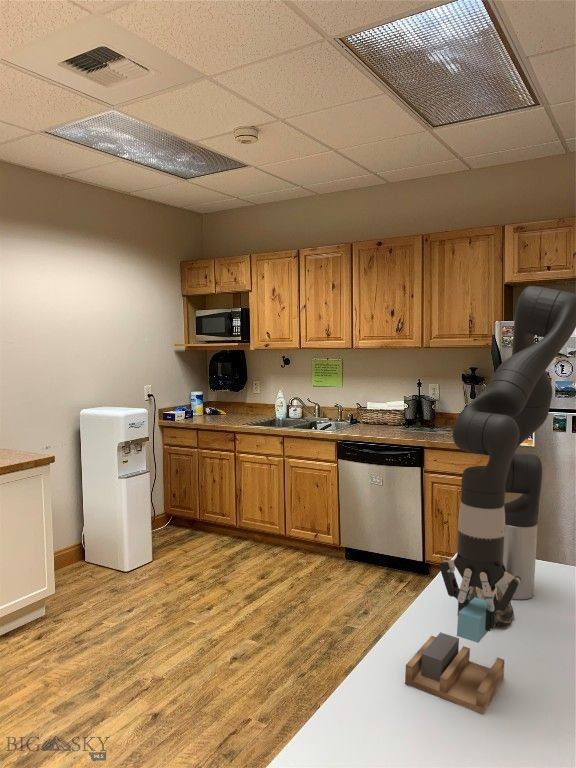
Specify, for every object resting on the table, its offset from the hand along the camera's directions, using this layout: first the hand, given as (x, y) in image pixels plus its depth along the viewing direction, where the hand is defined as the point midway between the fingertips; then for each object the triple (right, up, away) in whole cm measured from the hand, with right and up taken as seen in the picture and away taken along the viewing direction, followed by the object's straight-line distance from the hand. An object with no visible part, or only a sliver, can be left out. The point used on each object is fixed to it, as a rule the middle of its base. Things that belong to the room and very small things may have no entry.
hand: (476, 624), depth 101 cm
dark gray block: (-5, -10, +5) cm, 12 cm away
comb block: (-3, -11, +3) cm, 12 cm away
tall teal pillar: (0, -1, 0) cm, 1 cm away
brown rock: (+11, -9, +25) cm, 29 cm away
